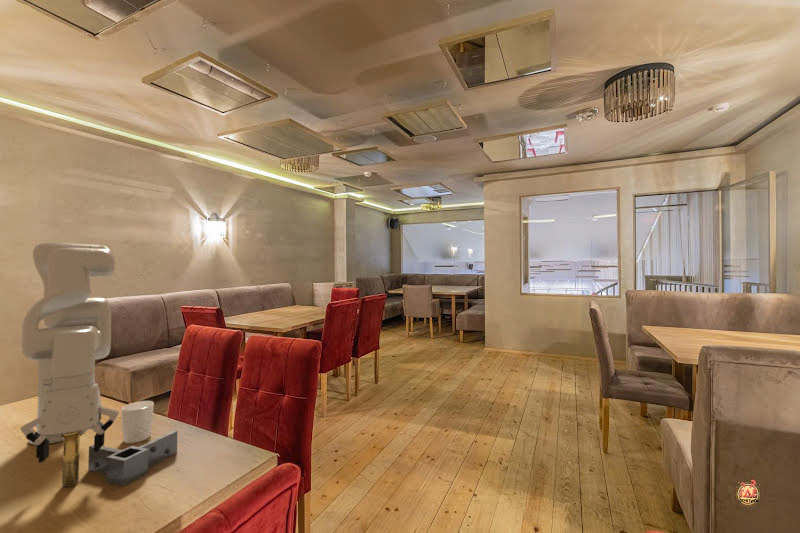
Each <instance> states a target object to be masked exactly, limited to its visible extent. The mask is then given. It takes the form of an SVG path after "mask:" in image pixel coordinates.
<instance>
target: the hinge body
mask: <svg viewBox="0 0 800 533" xmlns="http://www.w3.org/2000/svg"><path fill="white" fill-rule="evenodd" d="M177 453H178V430H172V431H171V432H168V433H166V434H164V435H162V436H159V437H157V438H155V439H152V440H151V441H148V442H147V443H144V444H142V445H139V446H134V445H130V446H128V447H126V448H124V449H118V448H113V447H109V446H105V445H103V446H101V448H100V450H99V451H98V452H94V444H93V445H89V446H88V468H87V469H88V471H89V472H94V473H98V474H101V475H105V483H107V484H111V485H114V486H119V487H125V486H127V485H129V484H132V483H133V482H134V481H136V480H139V479H140V478H143V476H146V475H148V474H149V472H148V471H149V468H151V467H153V466H155V465H156V464H159V463H161V462H162V461H164V460H166V459H168V458H170V457H172V456H174V455H176V454H177Z"/></svg>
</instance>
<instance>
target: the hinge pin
mask: <svg viewBox="0 0 800 533" xmlns="http://www.w3.org/2000/svg"><path fill="white" fill-rule="evenodd" d="M82 432H83V431H78V432H72V433H66V434H60V437H64V441H63V447H62V448H63V450H62V476H61V477H62V478H61V479H62V480H61V483H62V484H61V487H62V489H69V488H73V487H74V486H76V485H78V484H79V479H80V478H79V476H80V473H79V472H80V447H81V446H80V444H81V442H80V441H81V438H80V437H81V434H80V433H82ZM83 433H84V432H83ZM83 433H82V434H83Z"/></svg>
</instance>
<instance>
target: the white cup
mask: <svg viewBox="0 0 800 533" xmlns="http://www.w3.org/2000/svg"><path fill="white" fill-rule="evenodd" d="M154 406H155V403H154V401H153V400H140V401H135V402H131V403H128V404H125V405H124V406H122V407H121V429H122V438H123V439H122V440H123V443H125V444H135V443H139V442H142V441H145V440H148V439H149V438H150V437H151V435H152V426H153V418H154V408H155V407H154Z"/></svg>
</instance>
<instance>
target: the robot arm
mask: <svg viewBox="0 0 800 533" xmlns="http://www.w3.org/2000/svg"><path fill="white" fill-rule="evenodd" d="M32 259H33V264H34V266H35V269H36V271H37V272H38V275H39V276H40V279H41V280H42V283H43V297H42V298H41V299H39V300H38V301H37V302H35V304H33V305H32V307H31V308H29V310H28V311H27V313H26V314H25V316H24V319H23V321H22V325H21V326H22V327H21V328H22V330H21V332H22V333H21V352H22V355H23V356H24V358H26V359H28V360H29V361H30V360H31V361H36V363H37V370H38V375H37V376H38V386H37V387H38V388H37V389H38V390H37V417H36V418H35V419H33V420H32V421H30V422H27V423H26V424H24V425H23V426H21V427H20V431H21V432H22V434H23V435H24V436H25V438H26V439H27V440H28V442H29V444H30V445H34V446H36V451H35V453H36V454H35V458H36V459H38V463H39V464H40V463H43V462H45V460H47V459H48V458H49V455H50V444H54V443H60V442H64V437H60V434H66V433H72V432H78V431H83V432H82V433H80V435H81V434H83V433H85V432H86V431H88V430H92V431H93V432H95V433H96V434H95V435H94V440H93V445H94V452H98V451H99V450H100V448H101V446H105V436H106V435H105V433H106V431H107V430H108V429H109V428H110V427H111V426H112V425H113V423H114V422H115V421H116V419H117V417H118V416H119V413H120V411H118V410H116V409H112V408H109V407H108V408H107V407H104V406H102V400H101V399H102V398H101V392H100V387H99V383H97V382H95V380H96V379H95V376H96V374H95V372H96V371H95V368H96V360H101V359H104V358H106V357H107V356H109V355H110V352H111V347H112V309H111V304H110V302H109V301H108V300H107V299H105V298H103V297H90V296H91V292H92V291H91V282H90V280H91V279H90V278H91V277H110V276H112V275H113V274H114V272H115V270H116V259H115V256H114V253H113V252H112V250H111V249H110V248H109V247H108V246H107V245H103V244H102V245H101V244H91V243H89V244H88V243H87V244H86V243H76V242H75V243H74V242H73V243H72V242H44V243H39V244H37V245H35V246H34V248H33V250H32ZM42 320H43V322H44V326H45V328H39V325H40V322H41V321H42ZM102 415H104V416H106V417H107V416H108V418H109V419H108V420H107V421H106V422H105V423H103V422H102V421H101V419H102ZM34 428H36V431H35V430H34Z"/></svg>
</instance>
